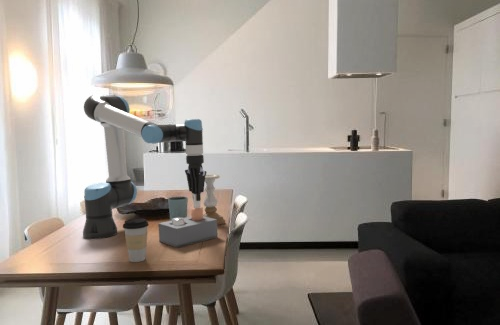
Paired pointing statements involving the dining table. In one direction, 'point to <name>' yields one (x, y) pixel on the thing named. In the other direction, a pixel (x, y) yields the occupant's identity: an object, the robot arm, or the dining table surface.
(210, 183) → the candle holder
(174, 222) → the silver rounded piece
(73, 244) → the dining table surface
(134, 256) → the coffee cup
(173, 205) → the drinking glass
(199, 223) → the block with square holes
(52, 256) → the dining table surface
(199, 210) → the brown egg
